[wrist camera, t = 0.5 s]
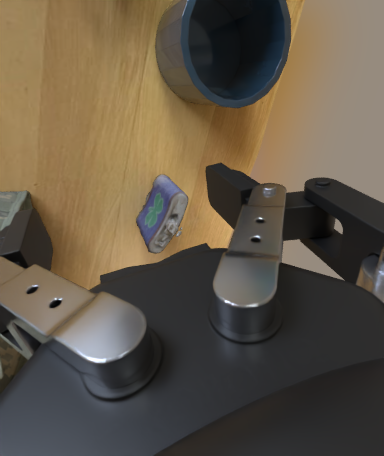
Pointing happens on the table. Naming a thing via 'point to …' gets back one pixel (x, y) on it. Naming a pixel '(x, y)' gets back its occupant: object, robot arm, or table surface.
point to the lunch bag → (3, 352)
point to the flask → (161, 214)
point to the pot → (223, 49)
